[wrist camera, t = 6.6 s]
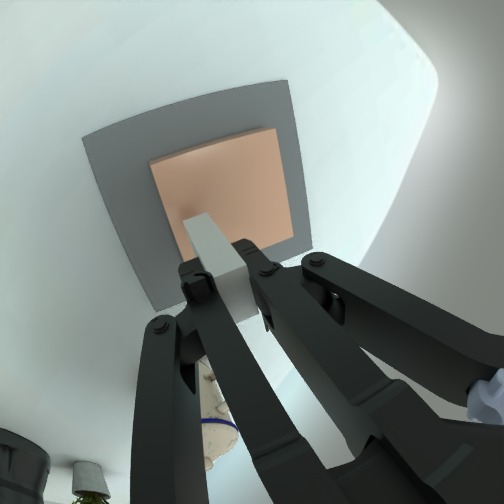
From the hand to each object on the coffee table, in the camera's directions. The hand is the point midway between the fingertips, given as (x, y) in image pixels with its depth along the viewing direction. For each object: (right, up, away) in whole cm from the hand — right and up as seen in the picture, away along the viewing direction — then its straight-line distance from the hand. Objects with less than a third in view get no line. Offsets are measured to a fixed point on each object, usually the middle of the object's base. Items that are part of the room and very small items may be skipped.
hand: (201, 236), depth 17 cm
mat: (0, +3, +5) cm, 6 cm away
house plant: (-27, -38, +15) cm, 49 cm away
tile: (-3, +1, +3) cm, 4 cm away
